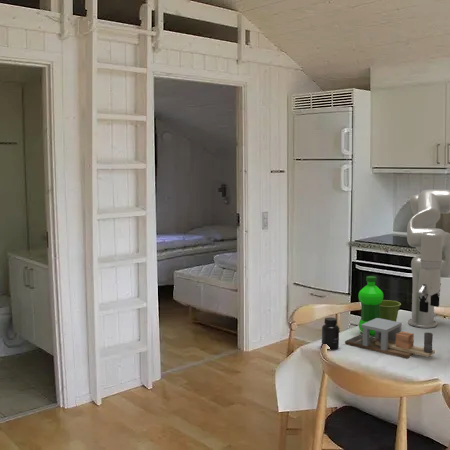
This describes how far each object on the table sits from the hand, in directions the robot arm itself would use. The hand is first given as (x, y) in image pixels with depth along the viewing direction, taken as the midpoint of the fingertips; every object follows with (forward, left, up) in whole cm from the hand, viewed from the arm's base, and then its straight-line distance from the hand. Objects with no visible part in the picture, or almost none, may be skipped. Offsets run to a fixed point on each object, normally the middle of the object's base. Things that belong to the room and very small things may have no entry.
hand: (429, 308), depth 225 cm
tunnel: (0, -19, -18) cm, 26 cm away
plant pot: (-26, -30, -19) cm, 44 cm away
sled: (0, -9, -17) cm, 20 cm away
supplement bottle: (+14, -34, -19) cm, 42 cm away
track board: (0, -19, -19) cm, 27 cm away
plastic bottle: (-13, -31, -19) cm, 39 cm away
